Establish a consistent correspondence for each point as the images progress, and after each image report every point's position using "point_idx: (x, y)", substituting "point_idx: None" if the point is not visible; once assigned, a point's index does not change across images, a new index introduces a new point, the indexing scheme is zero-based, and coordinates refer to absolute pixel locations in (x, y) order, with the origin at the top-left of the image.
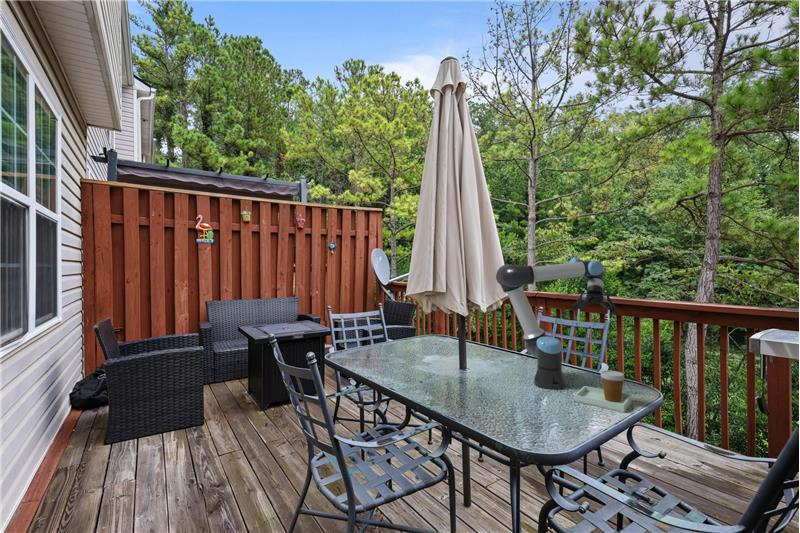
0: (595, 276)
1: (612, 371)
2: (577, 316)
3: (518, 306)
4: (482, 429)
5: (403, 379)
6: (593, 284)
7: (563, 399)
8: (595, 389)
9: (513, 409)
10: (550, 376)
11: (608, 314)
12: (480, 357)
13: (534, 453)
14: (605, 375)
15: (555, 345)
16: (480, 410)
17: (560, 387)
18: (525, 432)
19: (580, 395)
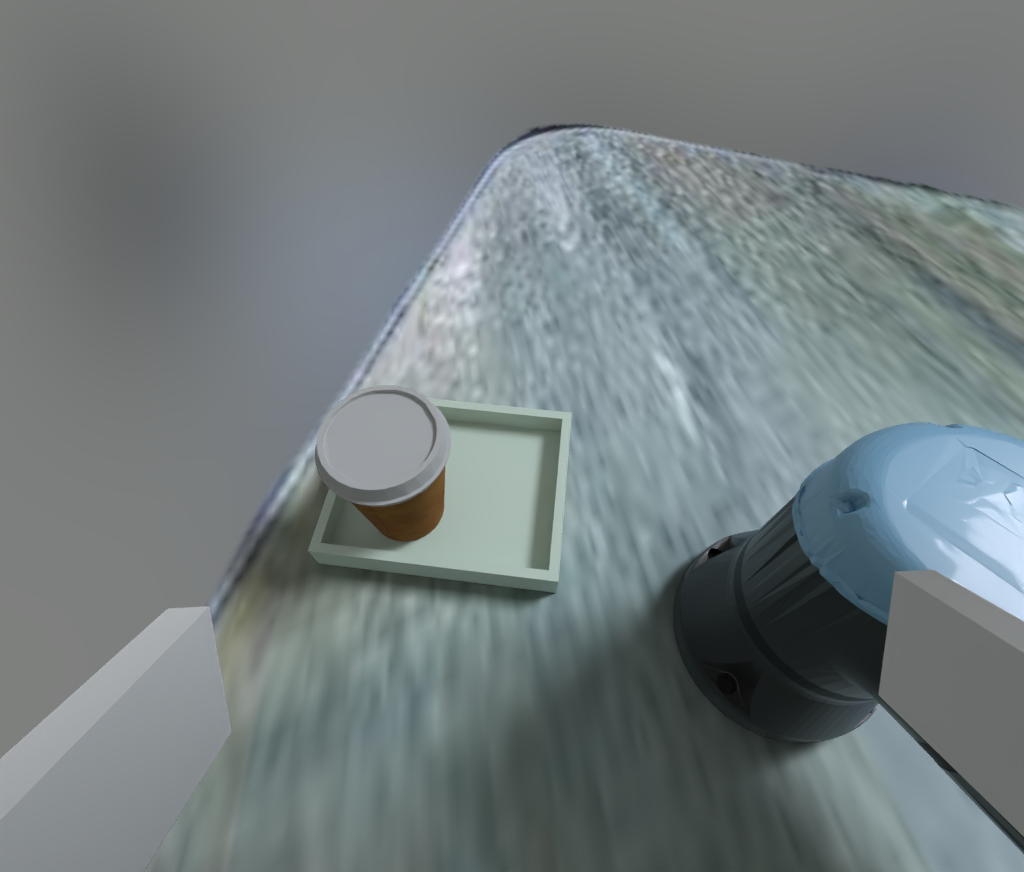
0: None
1: (378, 486)
2: (1004, 617)
3: None
4: (714, 158)
5: None
6: None
7: (615, 437)
8: (494, 565)
9: (725, 276)
10: (757, 530)
11: (8, 784)
12: None
13: (562, 127)
14: (419, 395)
15: (847, 454)
16: (802, 232)
17: (685, 573)
18: (618, 181)
19: (555, 489)
